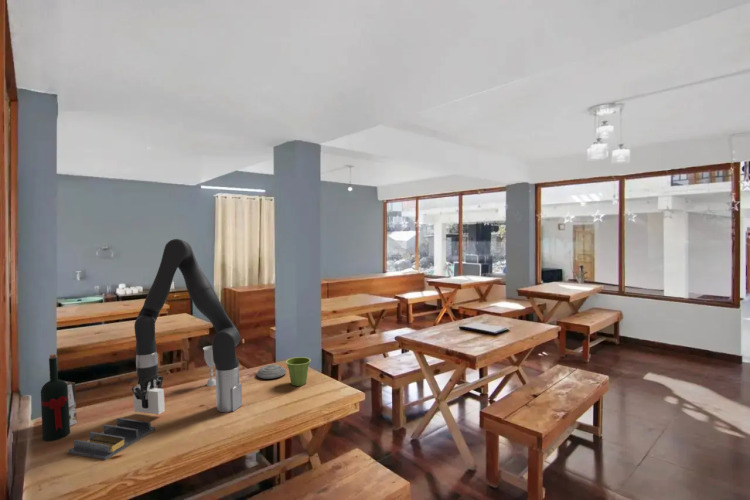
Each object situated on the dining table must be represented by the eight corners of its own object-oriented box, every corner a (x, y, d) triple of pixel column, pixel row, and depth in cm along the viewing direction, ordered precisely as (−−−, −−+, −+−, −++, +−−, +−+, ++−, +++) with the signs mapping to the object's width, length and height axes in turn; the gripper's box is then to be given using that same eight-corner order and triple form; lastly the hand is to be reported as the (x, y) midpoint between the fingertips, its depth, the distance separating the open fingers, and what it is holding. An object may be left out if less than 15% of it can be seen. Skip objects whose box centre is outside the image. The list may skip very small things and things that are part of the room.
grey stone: (261, 370, 209) (261, 360, 209) (289, 370, 208) (289, 360, 208) (252, 381, 194) (251, 370, 194) (282, 381, 194) (281, 370, 193)
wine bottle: (45, 446, 136) (41, 361, 134) (41, 436, 142) (36, 355, 141) (73, 437, 141) (69, 355, 140) (68, 428, 148) (64, 350, 147)
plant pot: (316, 382, 190) (315, 360, 189) (296, 390, 181) (295, 366, 181) (301, 377, 198) (300, 355, 197) (281, 384, 189) (280, 361, 188)
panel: (164, 410, 157) (163, 388, 157) (158, 414, 155) (157, 391, 154) (140, 408, 161) (139, 386, 160) (134, 411, 158) (133, 389, 157)
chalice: (222, 382, 191) (221, 346, 191) (211, 387, 185) (210, 350, 184) (212, 380, 194) (210, 345, 194) (200, 385, 188) (199, 348, 188)
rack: (155, 429, 146) (155, 420, 146) (105, 460, 127) (105, 449, 127) (121, 424, 150) (121, 415, 150) (68, 453, 131) (68, 442, 131)
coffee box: (77, 422, 152) (75, 382, 152) (59, 430, 146) (57, 388, 146) (62, 419, 155) (60, 379, 155) (43, 427, 149) (41, 385, 149)
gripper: (140, 370, 149) (142, 414, 150) (168, 358, 163) (170, 399, 163) (124, 369, 151) (126, 413, 152) (153, 357, 164) (155, 398, 165)
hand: (149, 405), depth 158 cm, fingers closed on panel, 3 cm apart
